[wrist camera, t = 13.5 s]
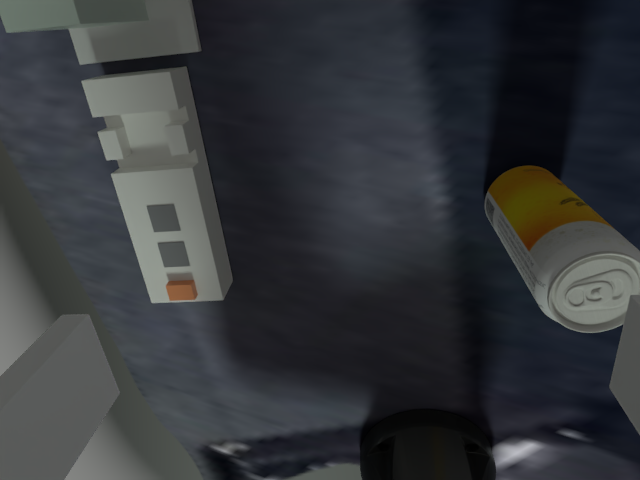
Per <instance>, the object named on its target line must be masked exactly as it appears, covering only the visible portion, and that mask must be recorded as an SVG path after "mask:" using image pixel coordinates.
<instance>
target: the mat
mask: <svg viewBox="0 0 640 480" xmlns="http://www.w3.org/2000/svg"><path fill="white" fill-rule="evenodd" d="M144 2H145V6H146V10H147V14H148V18H149V21H141V22H133V23H125V24H116V25H108V26H100V27H91V28H75V29H69V32H70V35H71V38H72V41H73V45H74V48H75V51H76V54H77V57H78V60H79V64H80V65H82V64H91V63H100V62H109V61H118V60H127V59H136V58H145V57H155V56H164V55H173V54H182V53H191V52H200V51H202V49H201V44H200V39H199V35H198V30H197V25H196V20H195V15H194V10H193V5H192V0H144Z"/></svg>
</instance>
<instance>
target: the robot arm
mask: <svg viewBox="0 0 640 480" xmlns="http://www.w3.org/2000/svg"><path fill="white" fill-rule="evenodd" d="M609 388H610V389H611V391H612V392H613V394H614V396H615V397H616V399H617V400H618V402H619V403H620V405H621V407H622V408H623V410H624V411H625V413H626V414H627V416H628V417H629V419H630V421H631V422H632V424H633V425H634V427H635V428H636V430H637V431H638V433H639V435H640V295H630V299H629V303H628V308H627V312H626V316H625V321H624V325H623V330H622V334H621V338H620V343H619V347H618V351H617V356H616V360H615V364H614V369H613V373H612V378H611V382H610V386H609ZM119 394H120V392H119V389H118V387H117V384H116V382H115V379H114V376H113V374H112V371H111V369H110V366H109V364H108V361H107V359H106V357H105V354H104V351H103V349H102V346H101V344H100V341H99V339H98V336H97V334H96V331H95V329H94V326H93V323H92V321H91V318H90V316H89V314H75V315H61V317H59V318H58V319H57V320H56V321H55V322H54V323H53V324H52V325H51V326H50V327H49V328H48V329H47V330H46V331H45V332H44V333H43V334H42V335H41V336H40V337H39V338H38V339H37V340H36V341H35V342H34V343H33V344H32V345H31V346H30V347H29V348H28V349H27V350H26V351H25V353H23V354H22V355H21V356H20V357H19V358H18V359H17V360H16V361H15V362H14V363H13V364H12V365H11V366H10V367H9V369H7V370H6V371H5V372H4V373H3V374H2V375H1V376H0V480H64V479H65V477H66V476H67V474H68V473H69V471H70V470H71V468H72V467H73V465H74V463H75V462H76V460H77V459H78V457H79V456H80V454H81V453H82V451H83V450H84V448H85V446H86V445H87V443H88V442H89V440H90V439H91V437H92V436H93V434H94V432H95V431H96V429H97V428H98V426H99V425H100V423H101V421H102V420H103V419H104V417H105V415H106V414H107V412H108V411H109V409H110V407H111V406H112V404H113V403H114V401H115V400H116V398H117V397H118V395H119ZM360 471H361V477H362V480H495V478H496V466H495V460H494V457H493V453H492V449H491V446H490V443H489V441H488V439H487V437H486V436H485V434H484V433H483V432H482V431H481V430H480V429H479V428H478V427H477V426H476V425H474V424H473V423H472V422H470V421H468V420H466V419H465V418H462V417H460V416H458V415H455V414H452V413H448V412H443V411H437V410H413V411H407V412H403V413H399V414H396V415H393V416H390V417H388V418H386V419H384V420H382V421H381V422H379V423H378V424H377V425H375V426H374V427H373V428H372V429H371V430H370V431H369V432H368V433H367V435H366V436H365V438H364V440H363V442H362V445H361V450H360Z"/></svg>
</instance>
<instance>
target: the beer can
mask: <svg viewBox="0 0 640 480" xmlns="http://www.w3.org/2000/svg"><path fill="white" fill-rule="evenodd" d="M485 212H486V215H487V217H488V219H489V221H490V222H491V224H492V226H493V228H494V229H495V231H496V233H497V234H498V236H499V238H500V240H501V241H502V243H503V245H504V247H505V248H506V250H507V252H508V253H509V255H510V257H511V259H512V260H513V262H514V264H515V265H516V267H517V269H518V271H519V272H520V274H521V276H522V277H523V279H524V281H525V283H526V284H527V286H528V288H529V290H530V291H531V293H532V295H533V296H534V298H535V300H536V302H537V303H538V305H539V307H540V308H541V310H542V311H543V312H544V313H545V314H546V315H547V316H548V317H550V318H551V319H553V320H555V321H557V322H559V323H560V324H562V325H563V326H565V327H567V328H569V329H571V330H575V331H579V332H587V333H594V332H602V331H606V330H610V329H613V328H616V327H618V326H620V325H622V324H624V321H625V316H626V312H627V308H628V303H629V299H630V295H640V252H639V250H638V249H637V248H635V247H634V246H633V245H632V244H631V243H630V242H629V241H628V240H626V239H625V238H624V237H623V236H622V235H621V234H620V233H619V232H617V231H616V230H615V229H614V228H613V227H612V226H611V225H609V224H608V223H607V222H606V221H605V220H604V219H603V218H602V217H600V216H599V215H598V214H597V213H596V212H595V211H594V210H593V209H591V208H590V207H589V206H588V205H587V204H586V203H585V202H584V201H582V200H581V199H580V198H579V197H578V196H577V195H576V194H574V193H573V192H572V191H571V190H570V189H569V188H568V187H567V186H565V185H564V184H563V183H562V182H561V181H560V180H559V179H558V178H556V177H555V176H554V175H553V174H552V173H551V172H549V171H548V170H546V169H544V168H541V167H538V166H530V165H528V166H519V167H516V168H513V169H510V170H508V171H506V172H505V173H503V174H502V175H500V176H499V177H498V178H497V179H496V180H495V181H494V182H493V183H492V185H491V186H490V188H489V189H488V192H487V194H486V197H485Z"/></svg>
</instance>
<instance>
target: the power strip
mask: <svg viewBox="0 0 640 480" xmlns="http://www.w3.org/2000/svg"><path fill="white" fill-rule="evenodd" d="M81 82H82V85H83V88H84V91H85V94H86V98H87V101H88V104H89V107H90V110H91V113H92V116H93V117H102V116H104V119H105V123H106V126H107V128H105V129H103V130H101V131H99V132H98V135H99V139H100V142H101V145H102V148H103V151H104V154H105V157H106V160H117V162H118V165H119V169H118V170H116V171H115V172H113V173H112V174H111V176H112V179H113V183H114V186H115V189H116V192H117V195H118V198H119V201H120V205H121V208H122V211H123V214H124V217H125V220H126V223H127V227H128V230H129V233H130V236H131V239H132V242H133V246H134V249H135V252H136V255H137V258H138V261H139V264H140V268H141V271H142V274H143V277H144V280H145V283H146V286H147V290H148V293H149V296H150V299H151V302H152V303H165V302H192V301H219V300H224V298H225V296H226V294H227V292H228V290H229V288H230V286H231V284H232V282H233V277H232V272H231V268H230V263H229V259H228V254H227V249H226V245H225V240H224V236H223V231H222V226H221V222H220V217H219V213H218V208H217V204H216V199H215V194H214V190H213V185H212V181H211V176H210V172H209V167H208V162H207V158H206V153H205V149H204V144H203V139H202V135H201V130H200V126H199V121H198V117H197V112H196V107H195V103H194V98H193V94H192V89H191V85H190V80H189V75H188V71H187V66H186V67H176V68H167V69H157V70H148V71H138V72H129V73H119V74H110V75H103V76H99V77H95V78H91V79H87V80H83V81H81Z"/></svg>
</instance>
